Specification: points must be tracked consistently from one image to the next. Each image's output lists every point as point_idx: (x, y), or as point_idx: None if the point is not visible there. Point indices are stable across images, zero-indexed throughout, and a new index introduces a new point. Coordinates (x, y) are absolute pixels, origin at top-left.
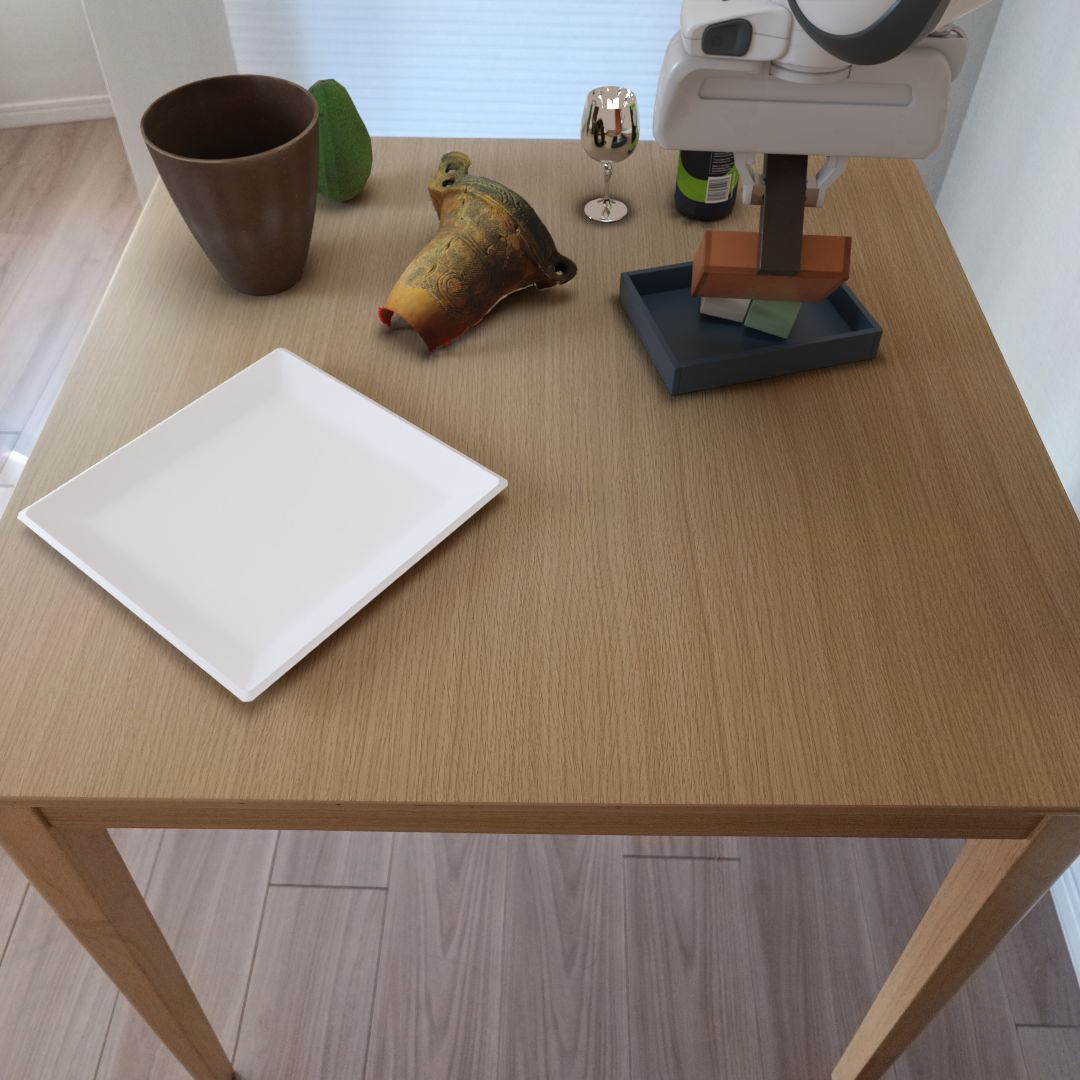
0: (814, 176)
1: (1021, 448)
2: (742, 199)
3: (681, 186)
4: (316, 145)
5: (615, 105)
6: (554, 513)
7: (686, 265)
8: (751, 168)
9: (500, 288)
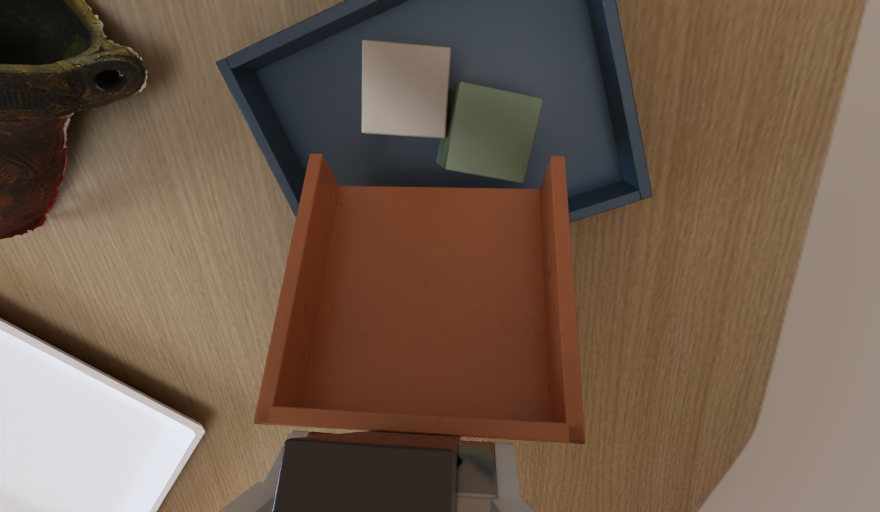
0: (486, 501)
1: (760, 341)
2: None
3: None
4: None
5: None
6: (261, 425)
7: (326, 22)
8: (271, 505)
9: (45, 139)
